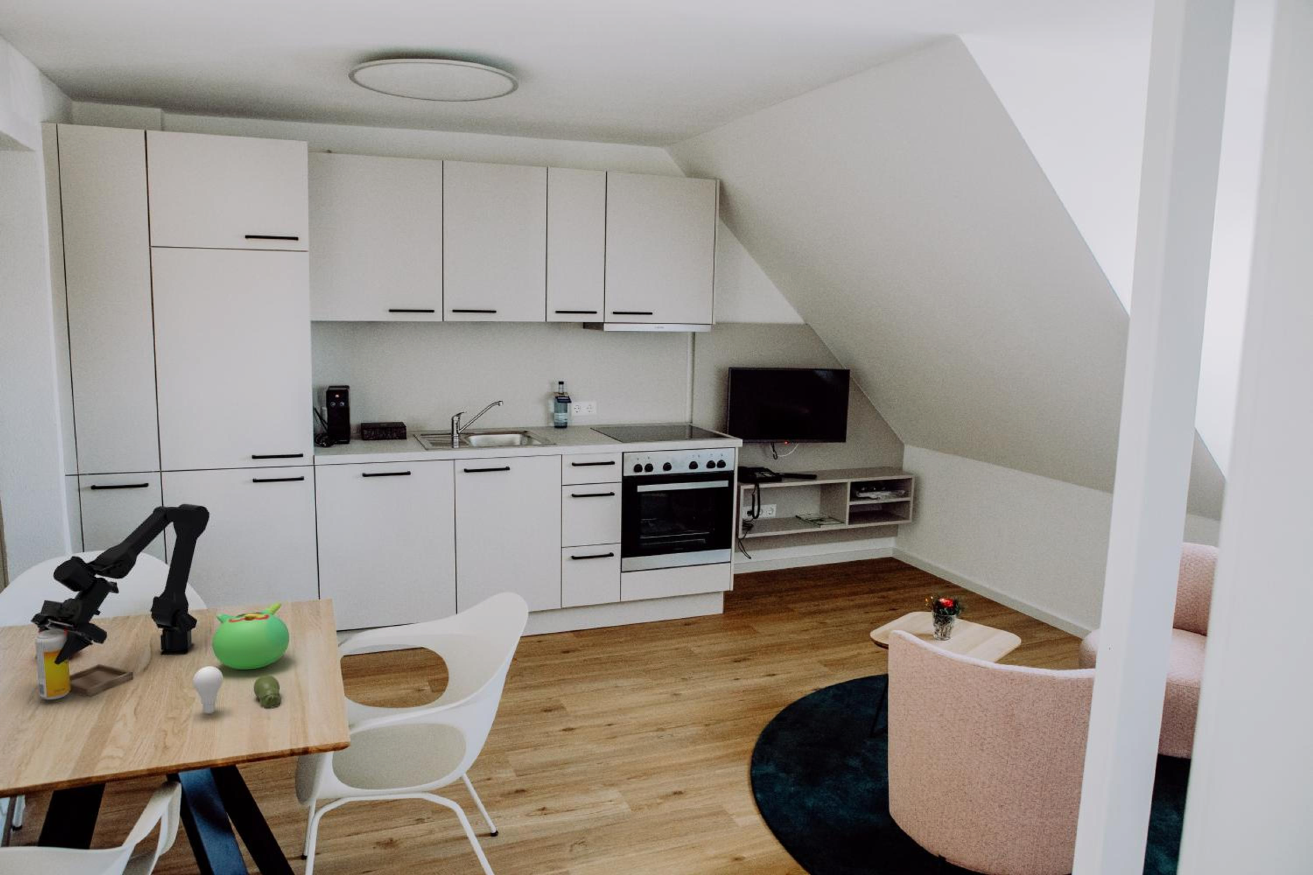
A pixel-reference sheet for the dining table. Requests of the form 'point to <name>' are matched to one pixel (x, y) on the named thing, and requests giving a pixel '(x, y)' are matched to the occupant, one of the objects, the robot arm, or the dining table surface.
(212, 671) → the lightbulb
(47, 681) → the beer can
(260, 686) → the olive green rounded piece
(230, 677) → the dining table surface
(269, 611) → the toy bird
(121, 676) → the tray
